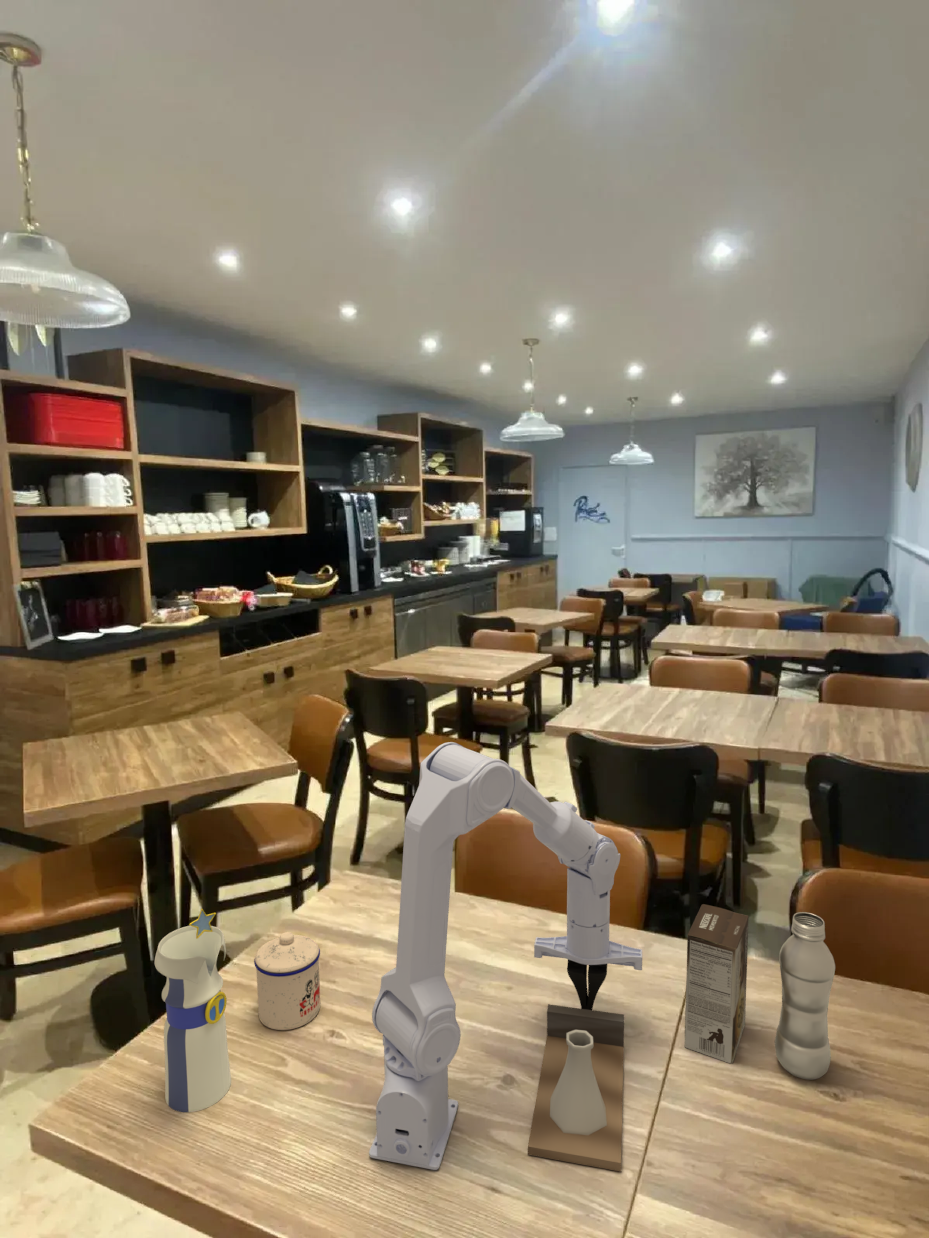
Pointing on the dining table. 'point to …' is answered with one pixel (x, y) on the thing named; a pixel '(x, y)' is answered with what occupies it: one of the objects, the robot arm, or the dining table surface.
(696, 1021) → the coffee box
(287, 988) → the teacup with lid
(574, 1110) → the flask
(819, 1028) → the plastic bottle
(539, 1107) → the sliding board
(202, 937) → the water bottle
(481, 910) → the dining table surface
